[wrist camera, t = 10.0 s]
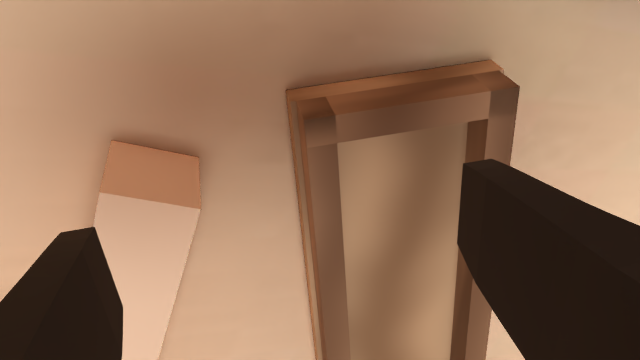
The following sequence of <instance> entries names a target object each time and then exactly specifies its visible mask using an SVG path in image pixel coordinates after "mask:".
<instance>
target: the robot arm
mask: <svg viewBox="0 0 640 360" xmlns="http://www.w3.org/2000/svg"><path fill="white" fill-rule="evenodd" d="M457 245H458V247H459V249H460V251H461V253H462V256H463V258H464V260H465V262H466V264H467V267H468V269H469V271H470V273H471V275H472V277H473V279H474V281H475V283H476V285H477V286H478V288H479V289H480V291H481V293H482V294H483V296H484V297H485V299H486V300H487V302H488V304H489V305H490V307H491V308H492V310H493V311H494V313H495V314H496V316H497V317H498V319H499V320H500V322H501V323H502V325H503V326H504V328H505V329H506V331H507V332H508V334H509V336H510V337H511V339H512V340H513V342H514V343H515V345H516V346H517V348H518V349H519V351H520V352H521V354H522V355H523V357H524V358H525V360H640V226H639V225H636V224H634V223H632V222H629V221H627V220H624V219H622V218H620V217H617V216H615V215H612V214H610V213H608V212H605V211H603V210H601V209H599V208H596V207H594V206H592V205H590V204H588V203H585V202H583V201H581V200H579V199H577V198H575V197H573V196H570V195H568V194H566V193H564V192H562V191H560V190H558V189H556V188H554V187H552V186H550V185H548V184H546V183H544V182H542V181H540V180H537V179H535V178H533V177H531V176H529V175H527V174H525V173H523V172H521V171H519V170H517V169H515V168H513V167H510V166H508V165H506V164H504V163H501V162H499V161H496V160H494V159H486V160H480V161H474V162H468V163H463V168H462V182H461V195H460V209H459V222H458V236H457ZM122 347H123V305H122V302H121V299H120V297H119V294H118V291H117V288H116V285H115V283H114V280H113V277H112V274H111V271H110V268H109V266H108V263H107V260H106V257H105V254H104V252H103V249H102V246H101V243H100V240H99V238H98V235H97V232H96V229H95V227H91V228H85V229H79V230H73V231H67V232H62V233H60V234H59V235H58V236H57V237H56V238H55V239H54V240H53V242H52V243H51V244H50V245H49V246H48V247H47V248H46V250H45V251H44V252H43V253H42V254H41V255H40V257H39V258H38V259H37V260H36V261H35V263H34V264H33V265H32V266H31V267H30V269H29V270H28V271H27V272H26V273H25V274H24V276H23V277H22V278H21V279H20V280H19V281H18V282H17V284H16V285H15V286H14V287H13V288H12V289H11V290H10V292H9V293H8V294H7V295H6V296H5V297H4V298H3V300H2V301H1V302H0V360H122Z"/></svg>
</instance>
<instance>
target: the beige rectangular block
mask: <svg viewBox="0 0 640 360" xmlns="http://www.w3.org/2000/svg"><path fill="white" fill-rule="evenodd" d="M200 211H201V196H200V173H199V157H194V156H189V155H184V154H179V153H174V152H169V151H164V150H159V149H154V148H149V147H144V146H139V145H134V144H129V143H123V142H118V141H113V140H112V141H111V145H110V149H109V153H108V158H107V162H106V166H105V170H104V175H103V179H102V183H101V187H100V192H99V197H98V202H97V208H96V213H95V218H94V223H93V227H95V229H96V232H97V235H98V238H99V240H100V243H101V246H102V249H103V252H104V254H105V257H106V260H107V263H108V266H109V268H110V271H111V274H112V277H113V280H114V283H115V285H116V288H117V291H118V294H119V297H120V299H121V302H122V305H123V347H122V360H158V358H159V354H160V351H161V347H162V344H163V340H164V337H165V333H166V330H167V326H168V323H169V319H170V316H171V312H172V309H173V306H174V302H175V299H176V295H177V292H178V288H179V285H180V281H181V278H182V274H183V271H184V267H185V264H186V260H187V257H188V253H189V250H190V246H191V243H192V239H193V236H194V232H195V229H196V225H197V222H198V218H199V215H200Z"/></svg>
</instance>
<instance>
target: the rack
mask: <svg viewBox="0 0 640 360" xmlns="http://www.w3.org/2000/svg"><path fill="white" fill-rule="evenodd" d="M519 88H520V86H518V85H517V84H516V83H514V82H513V81H512V80H511V79H509V78H508V77H507V76H505V75H504V69H503V68H501V67H500V66H499V65H497V64H496V63H495V62H493V61H492V60H487V61H480V62H473V63H466V64H460V65H453V66H446V67H439V68H433V69H426V70H419V71H412V72H406V73H399V74H392V75H385V76H378V77H372V78H365V79H358V80H351V81H345V82H338V83H331V84H324V85H318V86H311V87H304V88H297V89H291V90H286V97H287V106H288V115H289V124H290V133H291V141H292V150H293V159H294V168H295V177H296V186H297V195H298V204H299V213H300V222H301V231H302V240H303V249H304V258H305V266H306V275H307V284H308V293H309V302H310V311H311V320H312V329H313V338H314V347H315V356H316V360H485V358H486V350H487V342H488V334H489V327H490V319H491V311H492V308H491V307H490V305H489V304H488V302H487V300H486V299H485V297H484V296H483V294H482V293H481V291H480V289H479V288H478V286H477V285H476V283H475V281H474V279H473V277H472V275H471V273H470V271H469V269H468V267H467V264H466V262H465V260H464V258H463V256H462V253H461V251H460V249H459V247H458V245H457V236H458V222H459V209H460V195H461V182H462V168H463V163H468V162H474V161H480V160H486V159H494V160H496V161H499V162H501V163H504V164H506V165H508V166H510V160H511V152H512V144H513V136H514V128H515V120H516V112H517V104H518V96H519Z"/></svg>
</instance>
